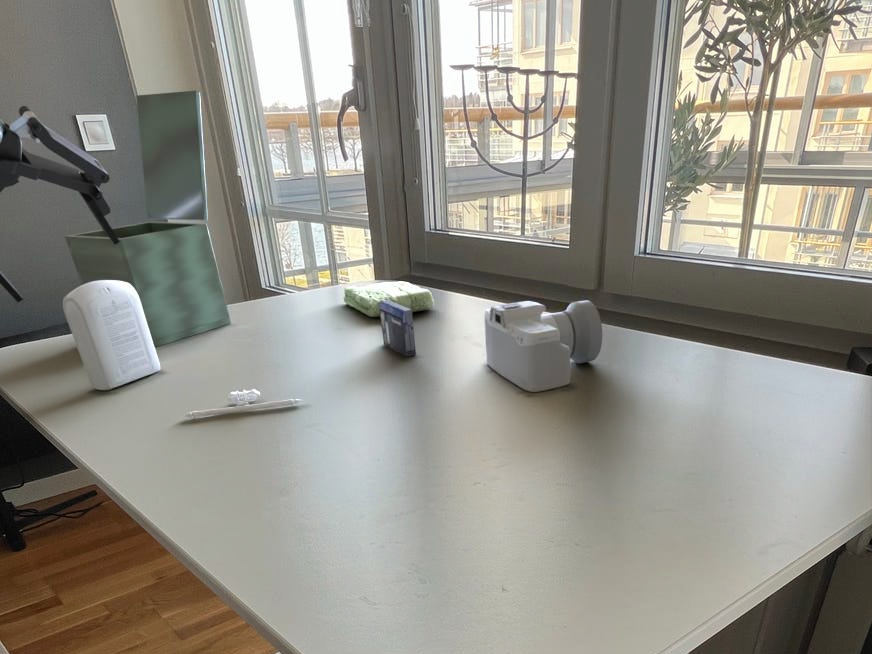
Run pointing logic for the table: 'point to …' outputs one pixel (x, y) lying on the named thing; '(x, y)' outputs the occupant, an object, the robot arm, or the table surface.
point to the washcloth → (388, 297)
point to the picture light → (242, 404)
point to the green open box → (159, 274)
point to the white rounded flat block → (110, 333)
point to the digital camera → (540, 342)
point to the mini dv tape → (397, 327)
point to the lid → (173, 155)
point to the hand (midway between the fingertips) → (64, 264)
